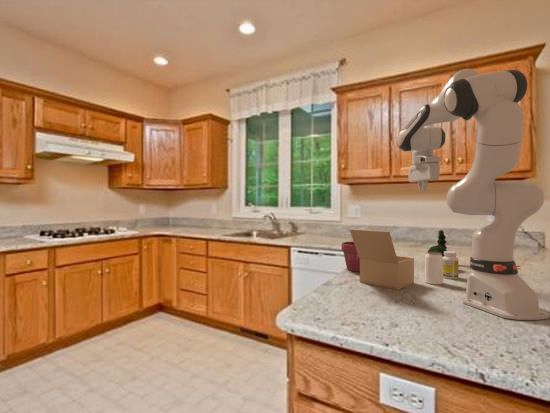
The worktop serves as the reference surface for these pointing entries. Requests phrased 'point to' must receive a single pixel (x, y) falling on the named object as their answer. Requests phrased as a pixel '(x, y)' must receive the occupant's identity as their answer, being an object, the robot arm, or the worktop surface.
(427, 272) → the can
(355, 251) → the plant pot
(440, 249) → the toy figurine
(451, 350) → the worktop surface
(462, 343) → the worktop surface
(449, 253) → the pill bottle
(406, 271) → the carton
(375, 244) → the flap
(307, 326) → the worktop surface
